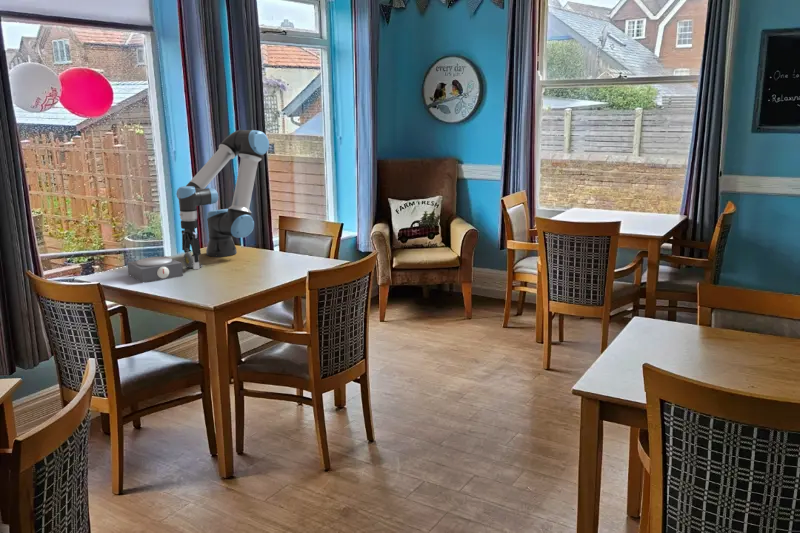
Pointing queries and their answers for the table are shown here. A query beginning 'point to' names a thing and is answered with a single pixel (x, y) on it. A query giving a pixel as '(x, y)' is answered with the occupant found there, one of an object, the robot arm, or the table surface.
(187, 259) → the pocket watch
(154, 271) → the dial scale
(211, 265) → the table surface
